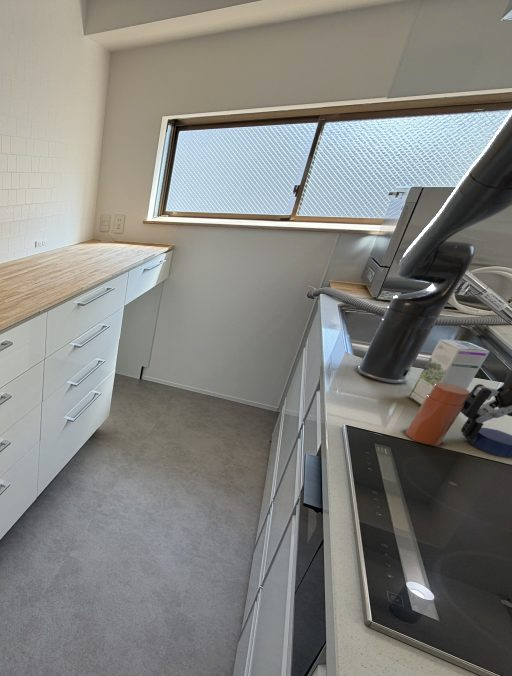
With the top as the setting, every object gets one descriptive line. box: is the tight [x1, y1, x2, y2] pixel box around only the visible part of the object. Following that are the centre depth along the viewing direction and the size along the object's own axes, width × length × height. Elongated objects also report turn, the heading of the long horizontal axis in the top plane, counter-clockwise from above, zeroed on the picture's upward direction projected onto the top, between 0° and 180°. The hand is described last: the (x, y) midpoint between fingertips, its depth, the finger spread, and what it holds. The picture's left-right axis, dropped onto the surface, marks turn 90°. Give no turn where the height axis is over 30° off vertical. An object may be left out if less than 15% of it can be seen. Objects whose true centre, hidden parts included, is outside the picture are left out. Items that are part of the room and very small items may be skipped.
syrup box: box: [408, 339, 490, 406], centre depth 89 cm, size 6×6×14 cm
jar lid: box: [469, 427, 512, 458], centre depth 77 cm, size 6×6×3 cm
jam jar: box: [405, 383, 471, 446], centre depth 77 cm, size 5×5×11 cm
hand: (496, 443), depth 77 cm, fingers open, 8 cm apart
